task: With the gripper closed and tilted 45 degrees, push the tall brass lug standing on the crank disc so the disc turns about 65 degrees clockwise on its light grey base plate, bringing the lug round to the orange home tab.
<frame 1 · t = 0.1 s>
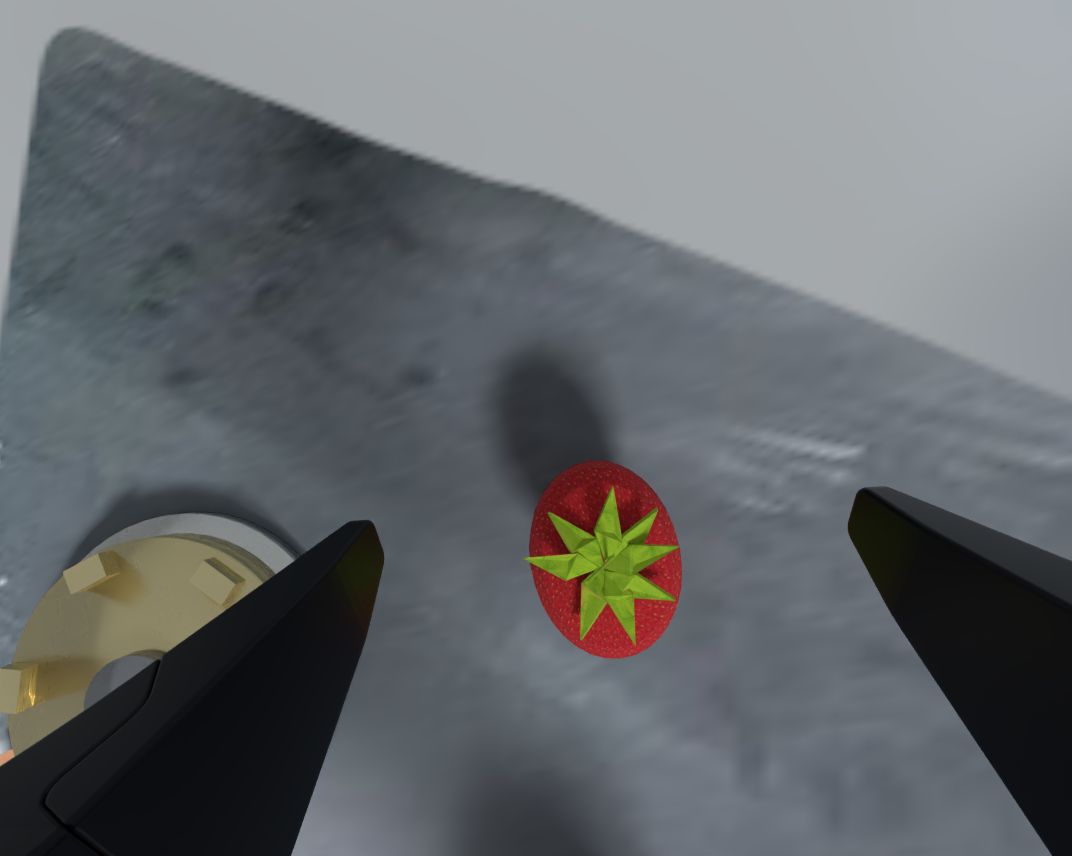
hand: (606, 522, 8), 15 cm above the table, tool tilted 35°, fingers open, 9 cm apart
strawberry: (595, 533, 23), on the table
base plate: (191, 671, 24), on the table
crank disc: (52, 747, 18), point 6 cm above the table, hinge at 0.0°
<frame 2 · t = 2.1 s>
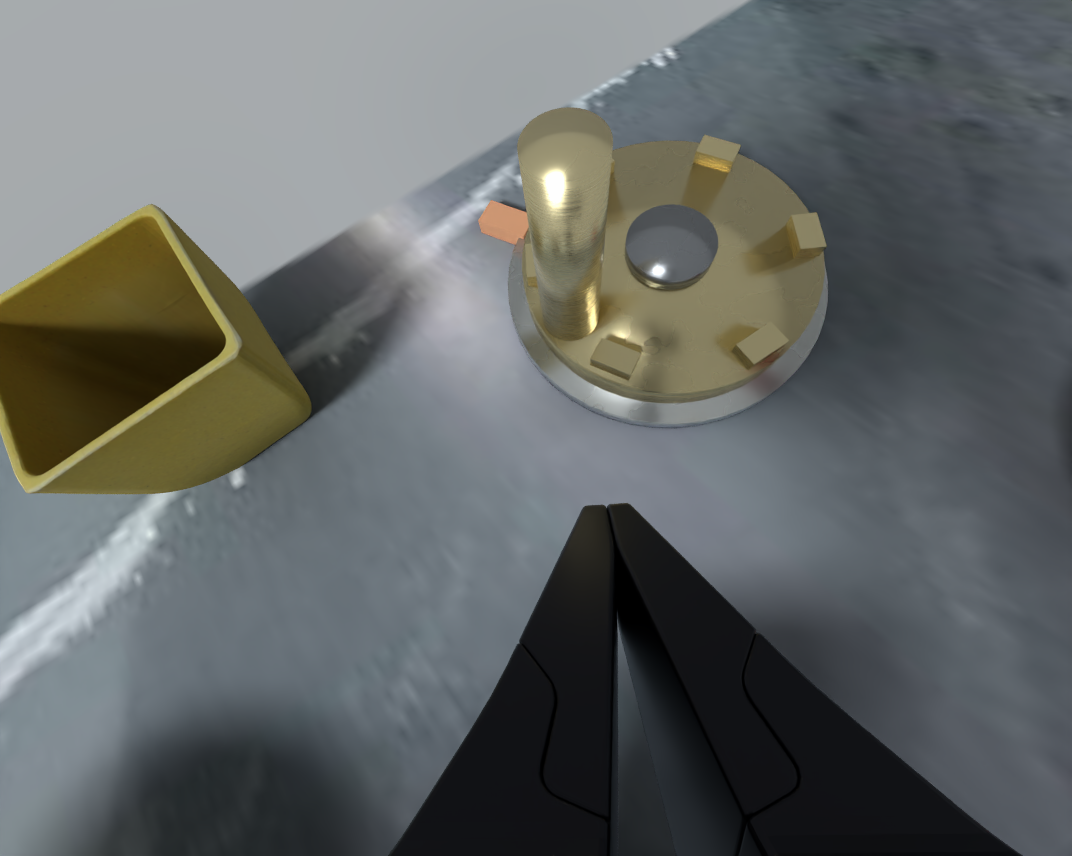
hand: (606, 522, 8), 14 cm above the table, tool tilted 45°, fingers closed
base plate: (659, 283, 25), on the table
home tab: (509, 230, 27), on the table
crank disc: (685, 192, 19), point 7 cm above the table, hinge at 0.0°
flower pot: (260, 412, 25), on the table
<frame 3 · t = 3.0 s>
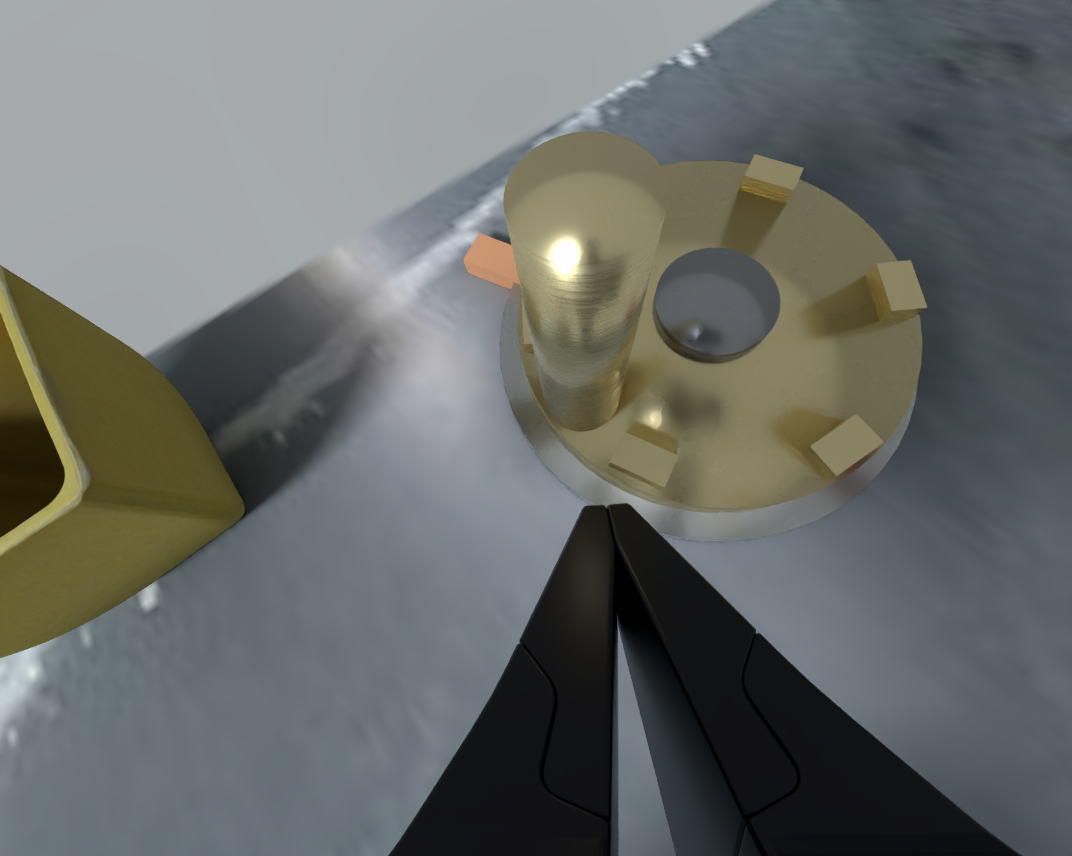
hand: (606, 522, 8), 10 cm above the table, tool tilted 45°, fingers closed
base plate: (693, 343, 20), on the table
home tab: (502, 270, 22), on the table
crank disc: (746, 241, 13), point 6 cm above the table, hinge at 0.0°
flower pot: (183, 505, 20), on the table
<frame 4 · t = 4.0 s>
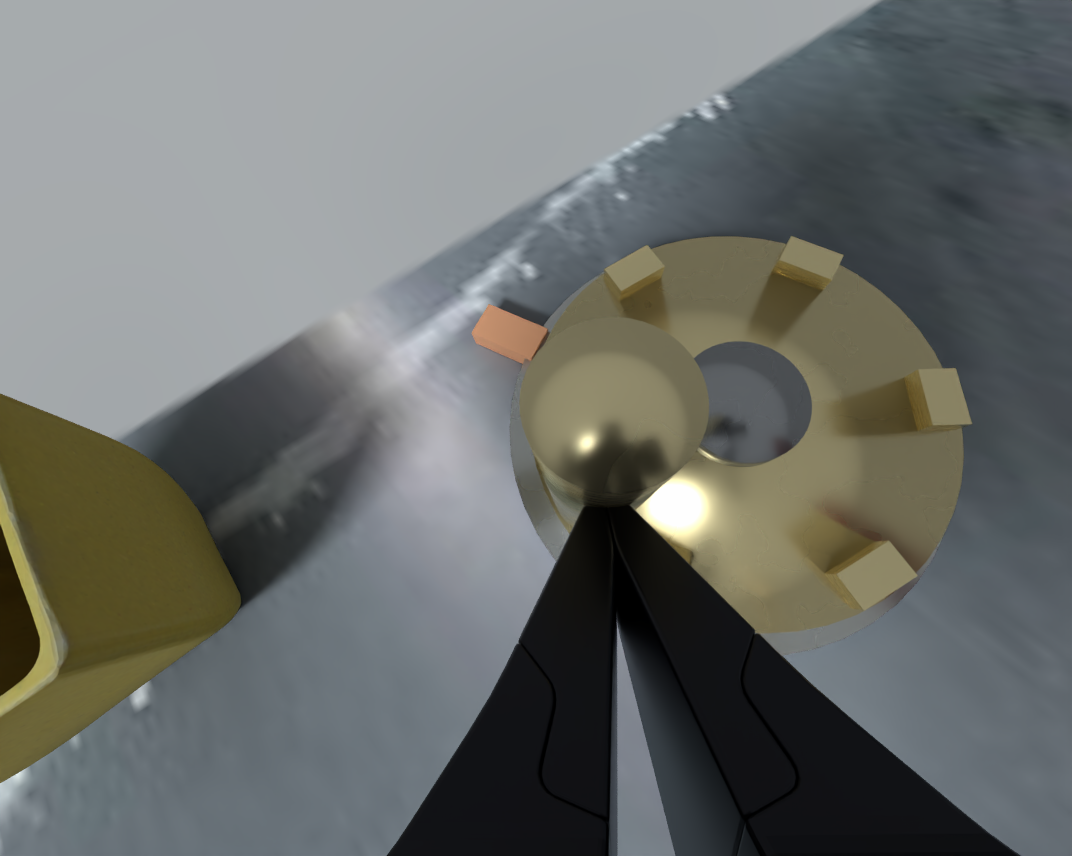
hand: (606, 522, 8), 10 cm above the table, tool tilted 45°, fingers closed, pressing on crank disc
base plate: (714, 428, 19), on the table
home tab: (512, 341, 21), on the table
crank disc: (781, 362, 12), point 6 cm above the table, hinge at -2.5°, touching gripper
flower pot: (177, 591, 19), on the table
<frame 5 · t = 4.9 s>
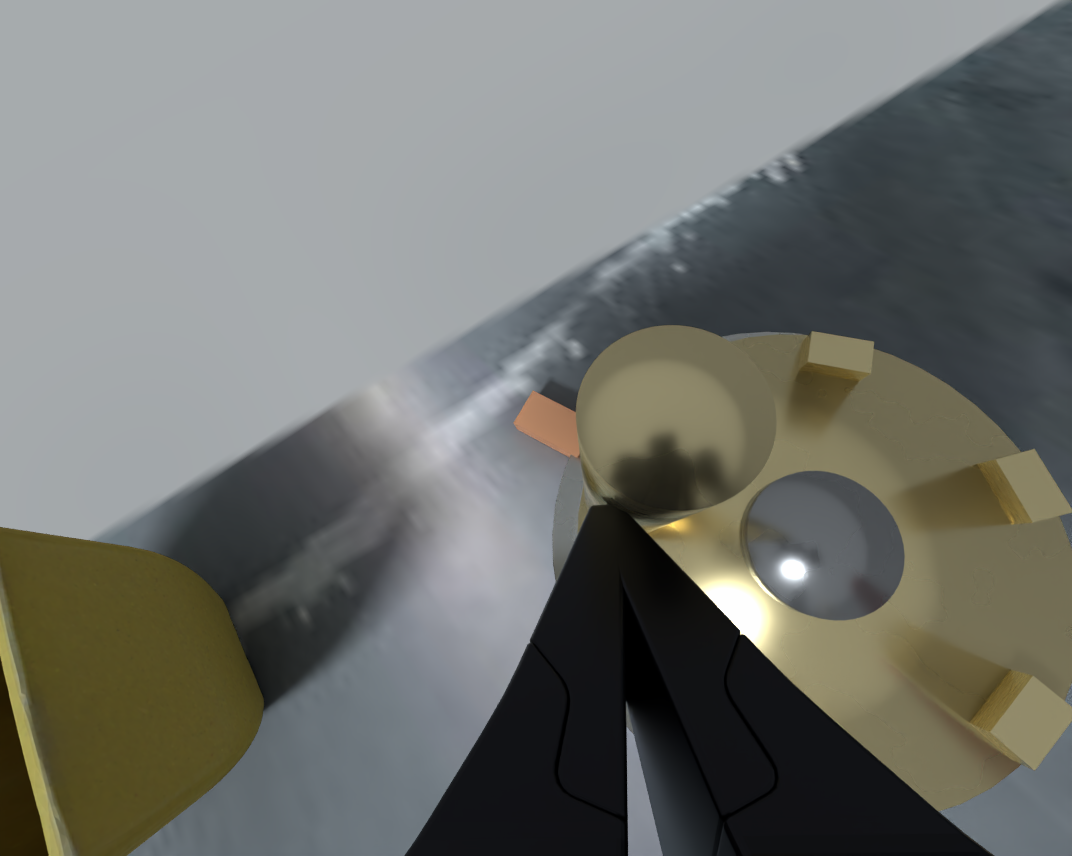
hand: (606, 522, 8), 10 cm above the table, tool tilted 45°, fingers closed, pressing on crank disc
base plate: (778, 544, 17), on the table
home tab: (556, 429, 19), on the table
crank disc: (886, 538, 11), point 6 cm above the table, hinge at -45.1°, touching gripper
flower pot: (199, 685, 18), on the table
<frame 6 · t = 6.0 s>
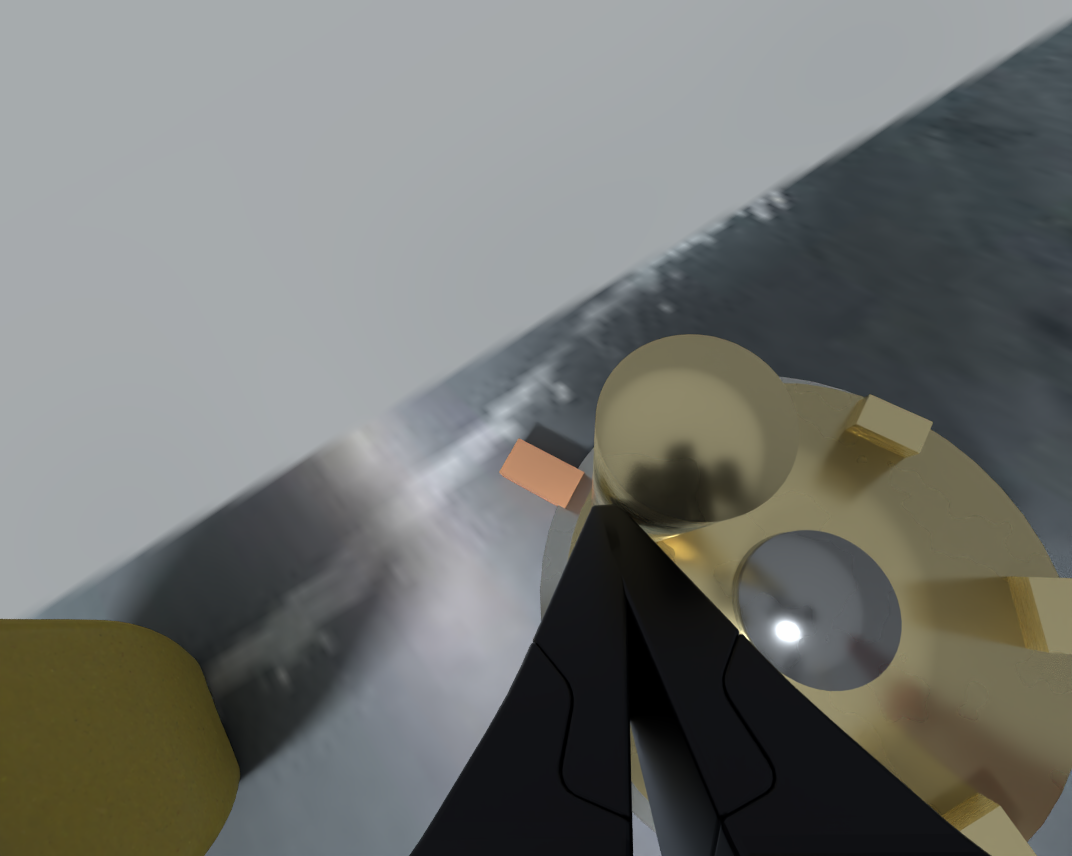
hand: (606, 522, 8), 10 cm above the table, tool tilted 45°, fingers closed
base plate: (772, 597, 16), on the table
home tab: (543, 476, 19), on the table
crank disc: (883, 618, 10), point 6 cm above the table, hinge at -62.3°, touching gripper
flower pot: (172, 753, 17), on the table
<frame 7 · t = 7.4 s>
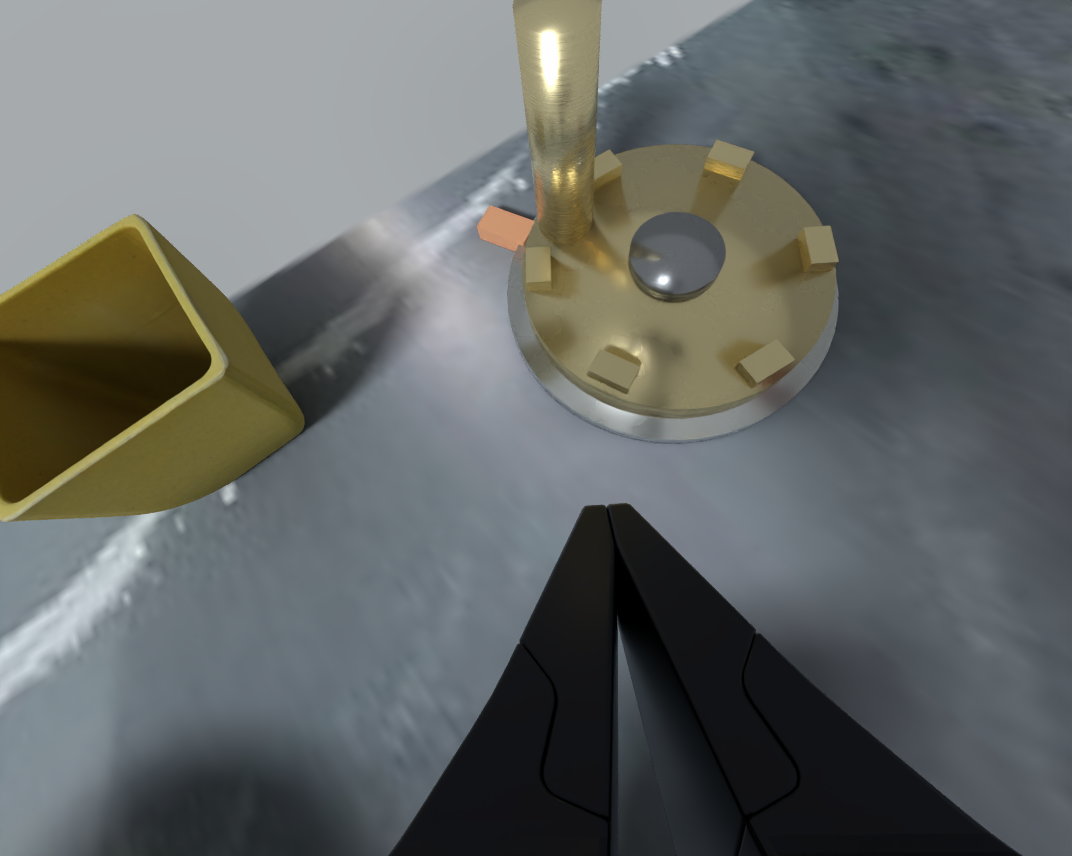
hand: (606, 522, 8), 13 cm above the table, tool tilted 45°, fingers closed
base plate: (663, 292, 24), on the table
home tab: (508, 236, 26), on the table
crank disc: (693, 201, 18), point 6 cm above the table, hinge at -62.3°
flower pot: (252, 425, 25), on the table
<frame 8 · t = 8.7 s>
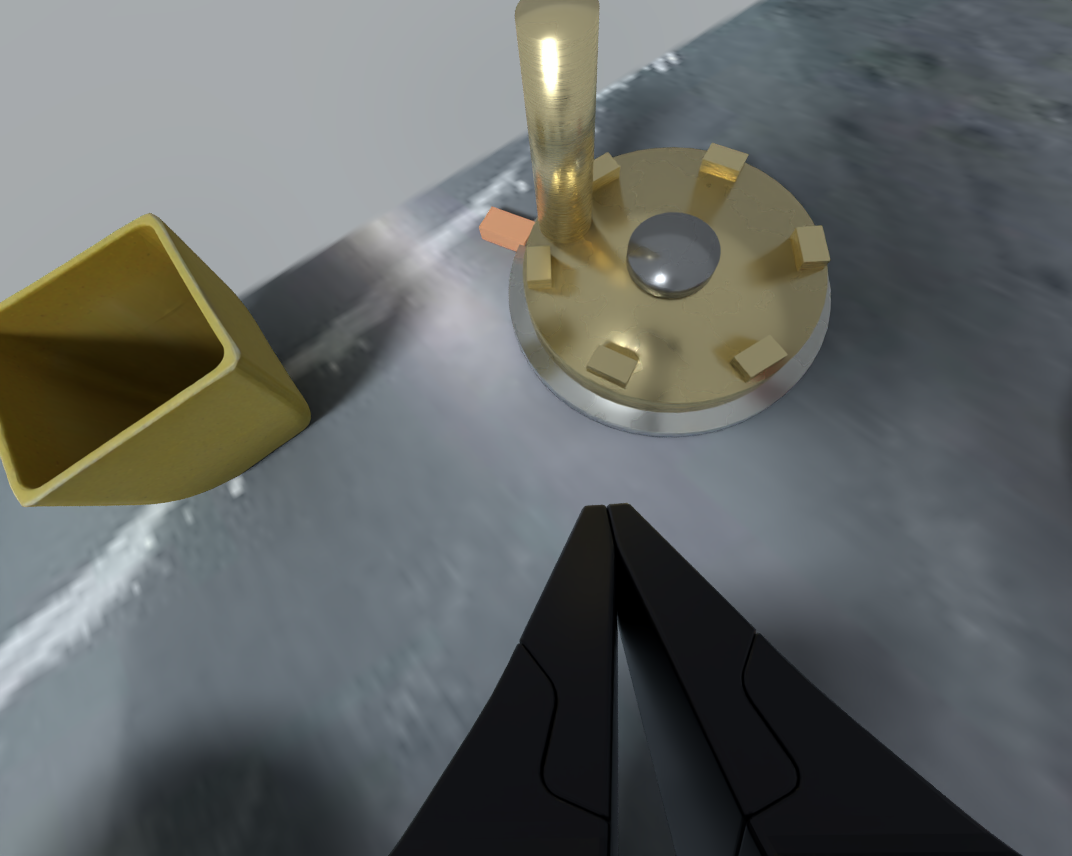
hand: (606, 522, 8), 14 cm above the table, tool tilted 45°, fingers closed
base plate: (660, 291, 25), on the table
home tab: (510, 236, 27), on the table
crank disc: (688, 201, 19), point 6 cm above the table, hinge at -62.3°
flower pot: (259, 420, 25), on the table
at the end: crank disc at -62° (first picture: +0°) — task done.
